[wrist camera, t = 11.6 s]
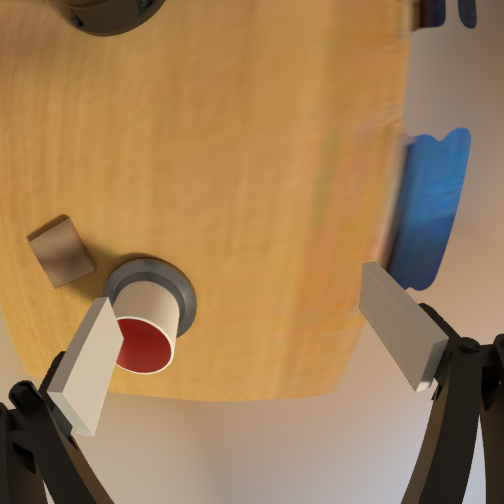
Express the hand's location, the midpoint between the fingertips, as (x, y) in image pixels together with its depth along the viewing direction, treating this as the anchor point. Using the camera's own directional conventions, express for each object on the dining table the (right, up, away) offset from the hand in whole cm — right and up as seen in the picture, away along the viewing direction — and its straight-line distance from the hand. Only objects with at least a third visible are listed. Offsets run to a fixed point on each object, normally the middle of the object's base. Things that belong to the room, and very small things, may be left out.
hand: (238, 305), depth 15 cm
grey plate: (-15, -5, +32) cm, 36 cm away
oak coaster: (-29, +2, +27) cm, 40 cm away
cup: (-15, -6, +30) cm, 34 cm away
